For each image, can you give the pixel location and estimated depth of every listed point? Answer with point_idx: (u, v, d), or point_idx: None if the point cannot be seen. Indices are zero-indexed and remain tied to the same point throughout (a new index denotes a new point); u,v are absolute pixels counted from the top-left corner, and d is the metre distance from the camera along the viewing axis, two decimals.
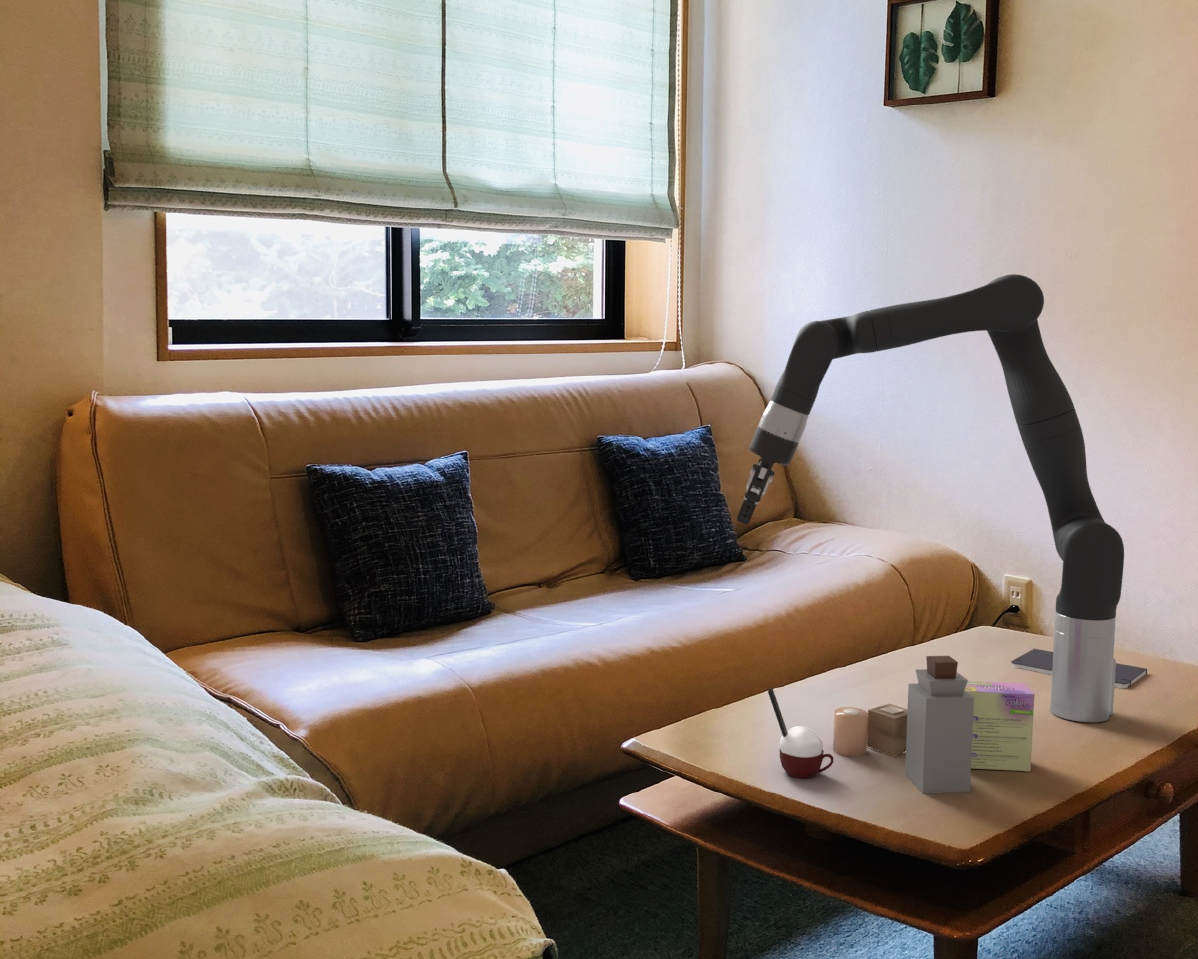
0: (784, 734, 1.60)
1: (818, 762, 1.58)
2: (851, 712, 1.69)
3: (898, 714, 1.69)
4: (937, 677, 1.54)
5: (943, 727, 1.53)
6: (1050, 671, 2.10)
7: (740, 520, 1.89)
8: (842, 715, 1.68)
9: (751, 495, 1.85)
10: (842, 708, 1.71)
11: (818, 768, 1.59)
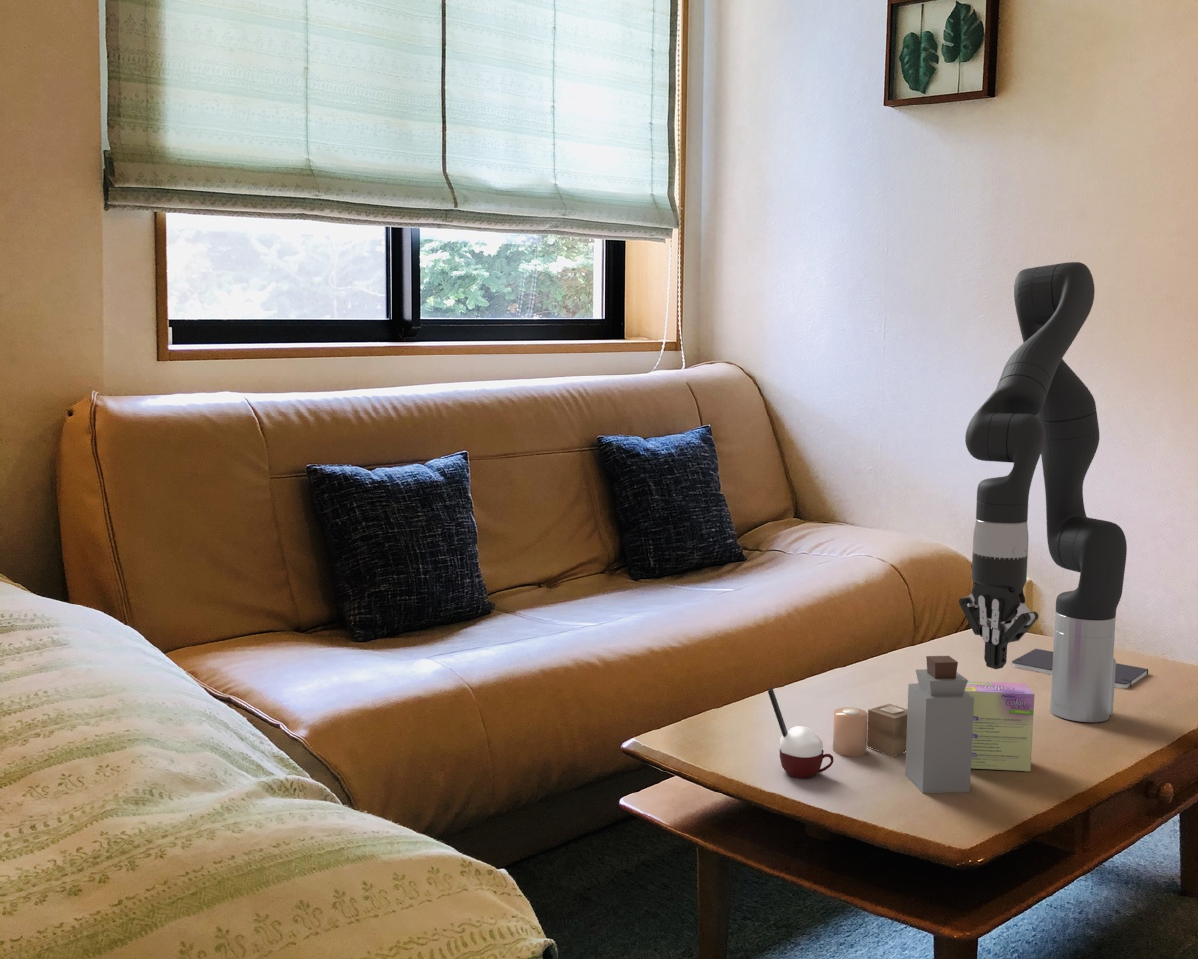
0: (784, 734, 1.60)
1: (818, 762, 1.58)
2: (850, 712, 1.69)
3: (898, 714, 1.69)
4: (937, 677, 1.54)
5: (943, 727, 1.53)
6: (1050, 671, 2.10)
7: (997, 667, 1.62)
8: (841, 715, 1.68)
9: None
10: (842, 708, 1.71)
11: (818, 768, 1.59)
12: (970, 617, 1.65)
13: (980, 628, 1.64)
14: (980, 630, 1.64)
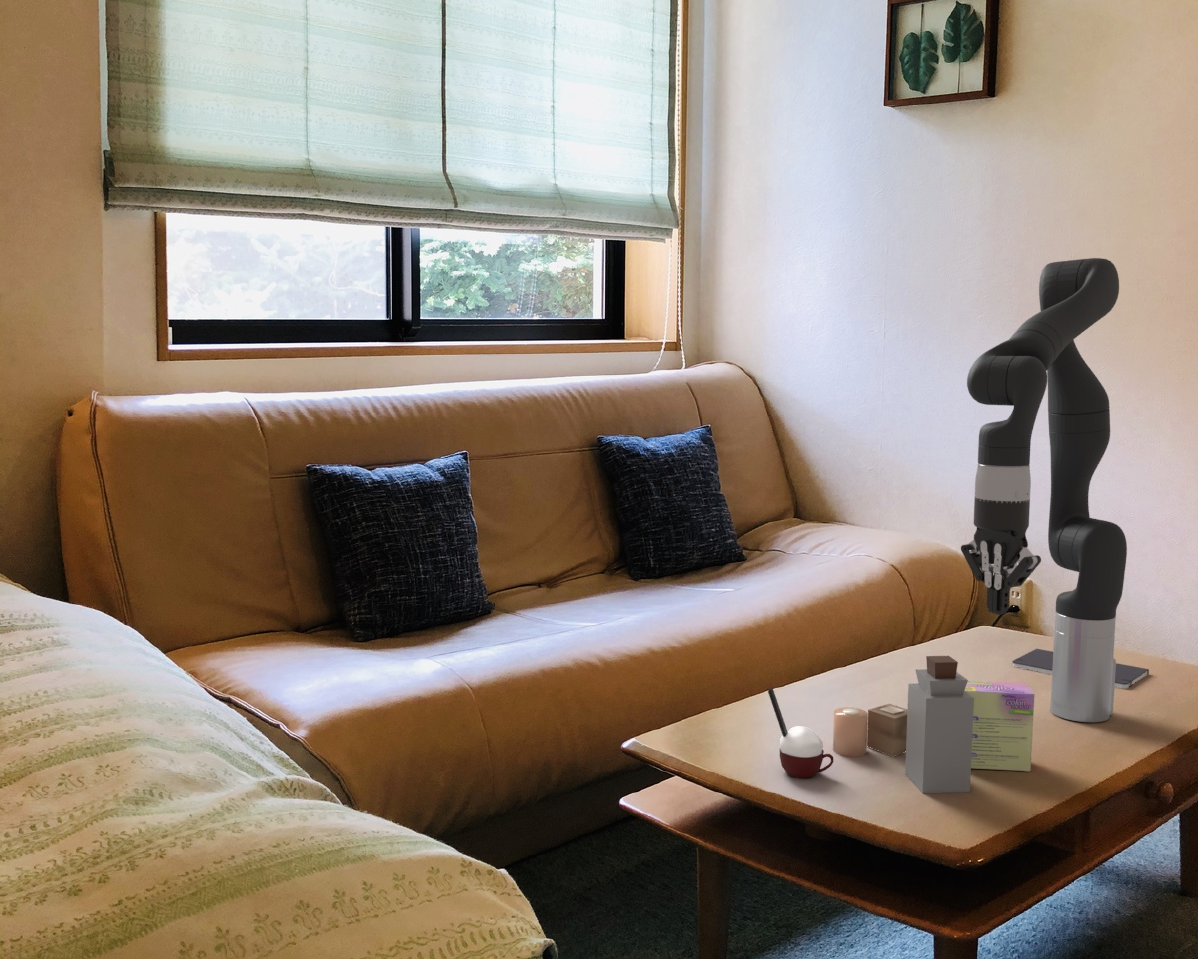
0: (784, 734, 1.60)
1: (818, 762, 1.58)
2: (850, 712, 1.69)
3: (898, 714, 1.69)
4: (937, 677, 1.54)
5: (943, 727, 1.53)
6: (1051, 671, 2.10)
7: (999, 612, 1.61)
8: (841, 715, 1.68)
9: None
10: (842, 708, 1.71)
11: (818, 768, 1.59)
12: (972, 563, 1.64)
13: (982, 574, 1.63)
14: (982, 576, 1.63)
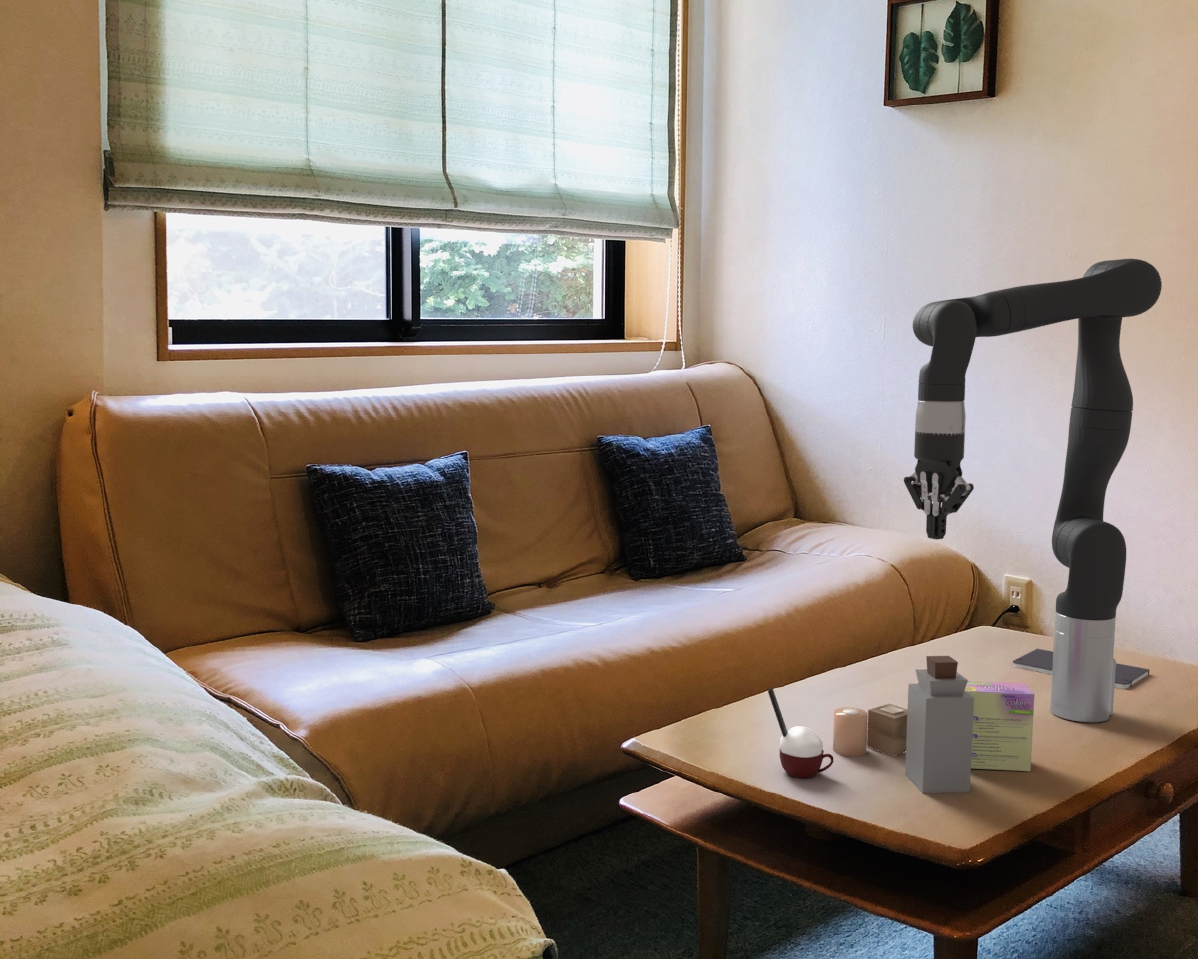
0: (784, 734, 1.60)
1: (818, 762, 1.58)
2: (850, 712, 1.69)
3: (898, 714, 1.69)
4: (937, 677, 1.54)
5: (943, 727, 1.53)
6: (1051, 671, 2.10)
7: (937, 537, 1.76)
8: (841, 715, 1.68)
9: (950, 508, 1.73)
10: (842, 708, 1.71)
11: (818, 768, 1.59)
12: (913, 493, 1.79)
13: (922, 503, 1.78)
14: (922, 504, 1.78)
